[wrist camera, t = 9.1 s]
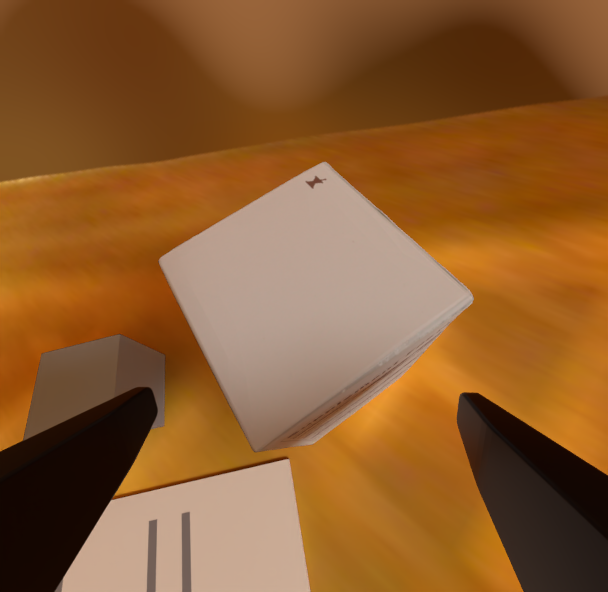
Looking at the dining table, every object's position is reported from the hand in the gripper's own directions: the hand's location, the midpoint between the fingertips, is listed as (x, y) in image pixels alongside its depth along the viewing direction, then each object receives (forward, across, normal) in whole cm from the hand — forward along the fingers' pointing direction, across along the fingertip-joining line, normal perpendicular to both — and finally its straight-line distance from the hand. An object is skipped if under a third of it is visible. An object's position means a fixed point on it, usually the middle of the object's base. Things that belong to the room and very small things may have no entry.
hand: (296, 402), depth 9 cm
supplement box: (+11, 0, +6) cm, 12 cm away
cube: (+9, +14, +7) cm, 18 cm away
